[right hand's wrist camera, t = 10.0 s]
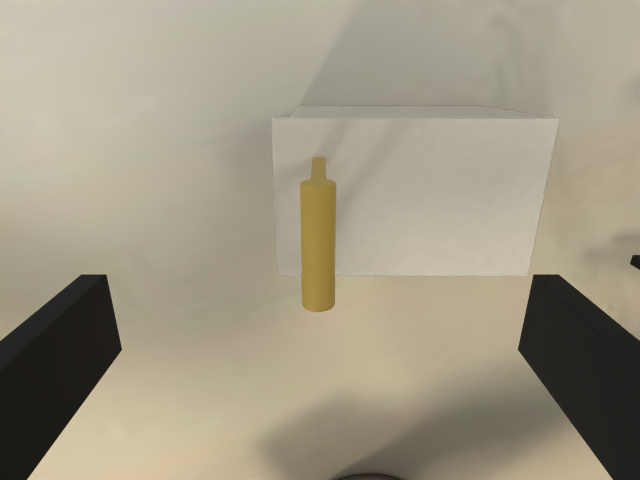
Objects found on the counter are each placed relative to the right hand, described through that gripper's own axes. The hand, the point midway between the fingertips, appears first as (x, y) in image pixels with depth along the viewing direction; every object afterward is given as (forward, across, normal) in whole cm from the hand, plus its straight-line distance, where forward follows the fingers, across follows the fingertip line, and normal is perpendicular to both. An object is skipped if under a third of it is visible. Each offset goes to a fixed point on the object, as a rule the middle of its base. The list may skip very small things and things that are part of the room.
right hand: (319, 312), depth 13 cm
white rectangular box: (+13, -5, 0) cm, 14 cm away
